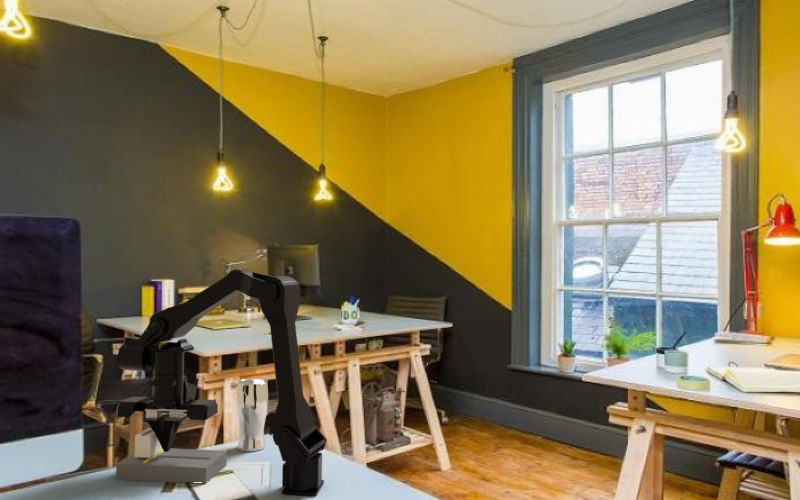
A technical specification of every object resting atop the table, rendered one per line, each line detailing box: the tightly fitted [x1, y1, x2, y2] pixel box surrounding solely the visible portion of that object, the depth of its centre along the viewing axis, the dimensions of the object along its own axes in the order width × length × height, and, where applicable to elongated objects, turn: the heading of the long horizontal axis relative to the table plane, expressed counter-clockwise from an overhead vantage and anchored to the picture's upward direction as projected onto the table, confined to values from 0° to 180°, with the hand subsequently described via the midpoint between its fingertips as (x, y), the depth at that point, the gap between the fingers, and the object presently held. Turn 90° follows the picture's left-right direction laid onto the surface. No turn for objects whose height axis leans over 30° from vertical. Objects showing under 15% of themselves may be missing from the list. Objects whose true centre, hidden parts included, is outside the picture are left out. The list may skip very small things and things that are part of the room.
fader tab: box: [134, 427, 162, 458], centre depth 117 cm, size 3×5×4 cm, turn 174°
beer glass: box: [236, 378, 269, 453], centre depth 132 cm, size 7×7×15 cm
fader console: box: [115, 447, 228, 484], centre depth 116 cm, size 18×10×3 cm, turn 84°
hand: (166, 451), depth 117 cm, fingers closed
